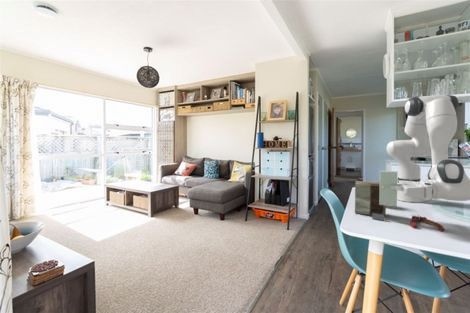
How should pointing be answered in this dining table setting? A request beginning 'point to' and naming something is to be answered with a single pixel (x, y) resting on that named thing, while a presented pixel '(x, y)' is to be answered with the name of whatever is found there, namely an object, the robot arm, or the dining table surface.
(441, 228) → the pliers
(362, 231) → the dining table surface
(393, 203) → the door panel
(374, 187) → the cabinet
